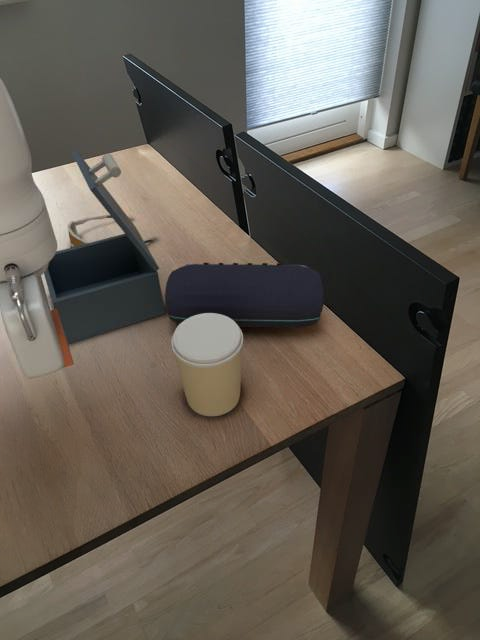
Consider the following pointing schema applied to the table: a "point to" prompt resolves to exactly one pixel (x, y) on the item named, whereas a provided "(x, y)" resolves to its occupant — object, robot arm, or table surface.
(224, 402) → the coffee cup
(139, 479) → the table surface
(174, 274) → the portable speaker
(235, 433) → the table surface
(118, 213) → the lid
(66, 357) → the block
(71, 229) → the sunglasses
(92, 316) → the open box
